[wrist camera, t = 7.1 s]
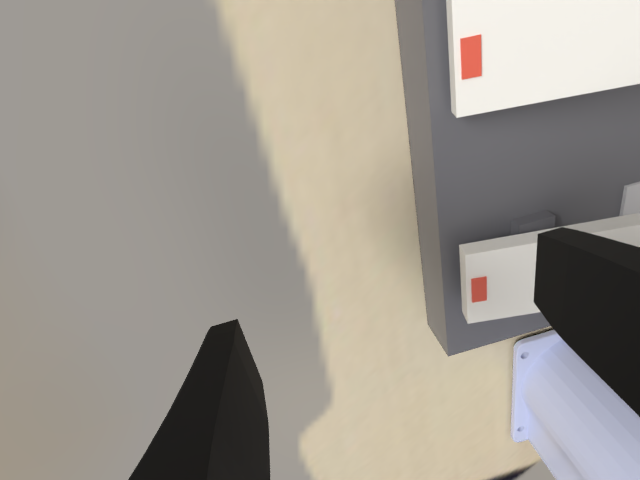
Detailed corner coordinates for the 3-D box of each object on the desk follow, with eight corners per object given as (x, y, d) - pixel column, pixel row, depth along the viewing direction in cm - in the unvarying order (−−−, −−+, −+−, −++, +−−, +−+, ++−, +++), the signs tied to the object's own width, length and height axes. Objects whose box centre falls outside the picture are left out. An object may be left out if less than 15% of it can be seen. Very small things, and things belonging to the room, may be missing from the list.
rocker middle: (664, 68, 14) (691, 74, 13) (449, 108, 15) (457, 118, 14) (689, -62, 12) (722, -67, 11) (443, -6, 13) (451, -5, 12)
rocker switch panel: (627, 266, 24) (678, 297, 21) (427, 324, 23) (453, 365, 20) (814, -690, 10) (1028, -948, 7) (332, -616, 9) (372, -872, 7)
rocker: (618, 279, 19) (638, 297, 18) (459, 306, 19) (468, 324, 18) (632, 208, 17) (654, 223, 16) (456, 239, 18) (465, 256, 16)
